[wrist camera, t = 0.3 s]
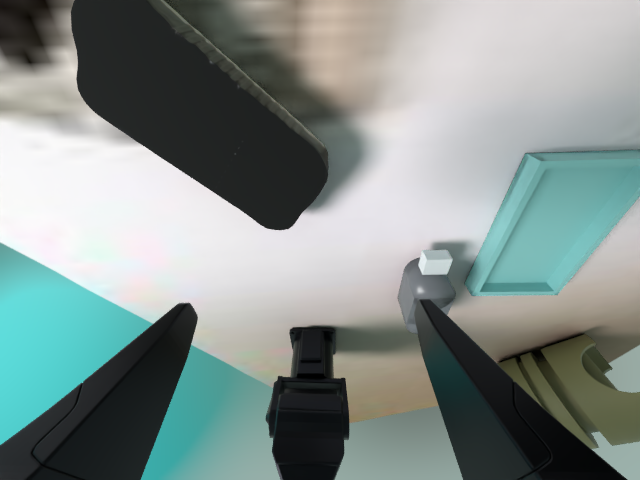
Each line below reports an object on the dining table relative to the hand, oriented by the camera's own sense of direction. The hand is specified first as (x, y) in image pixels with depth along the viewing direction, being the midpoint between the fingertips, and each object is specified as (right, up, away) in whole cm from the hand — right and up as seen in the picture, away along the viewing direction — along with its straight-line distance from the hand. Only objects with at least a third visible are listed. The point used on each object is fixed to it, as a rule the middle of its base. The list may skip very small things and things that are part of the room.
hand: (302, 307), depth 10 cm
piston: (+35, -15, +28) cm, 47 cm away
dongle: (+12, -2, +19) cm, 23 cm away
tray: (+22, +4, +14) cm, 26 cm away
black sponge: (-6, +12, +9) cm, 16 cm away
